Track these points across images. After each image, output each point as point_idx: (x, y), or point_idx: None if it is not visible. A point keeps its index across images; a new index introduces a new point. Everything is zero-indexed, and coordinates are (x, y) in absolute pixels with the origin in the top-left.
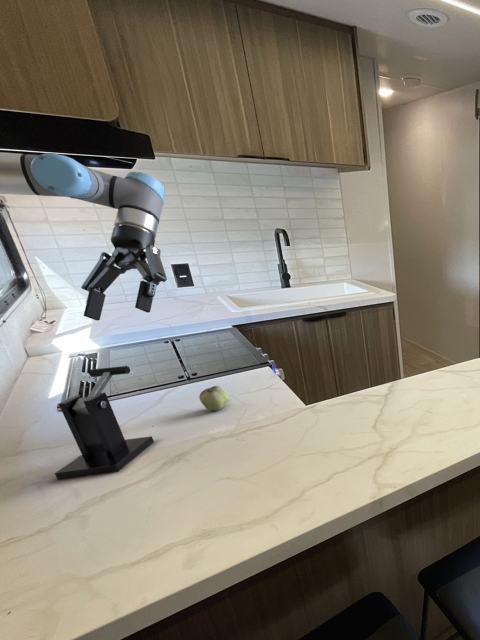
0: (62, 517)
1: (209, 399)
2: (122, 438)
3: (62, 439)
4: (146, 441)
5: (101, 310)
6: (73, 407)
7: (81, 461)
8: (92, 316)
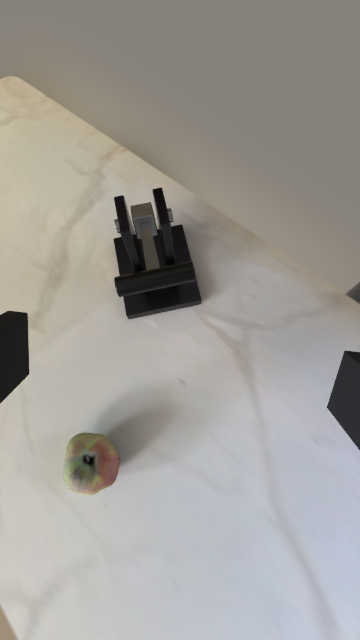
0: (104, 172)
1: (82, 434)
2: None
3: (314, 342)
4: (124, 301)
5: (356, 443)
6: (149, 203)
7: (173, 249)
8: (340, 380)
